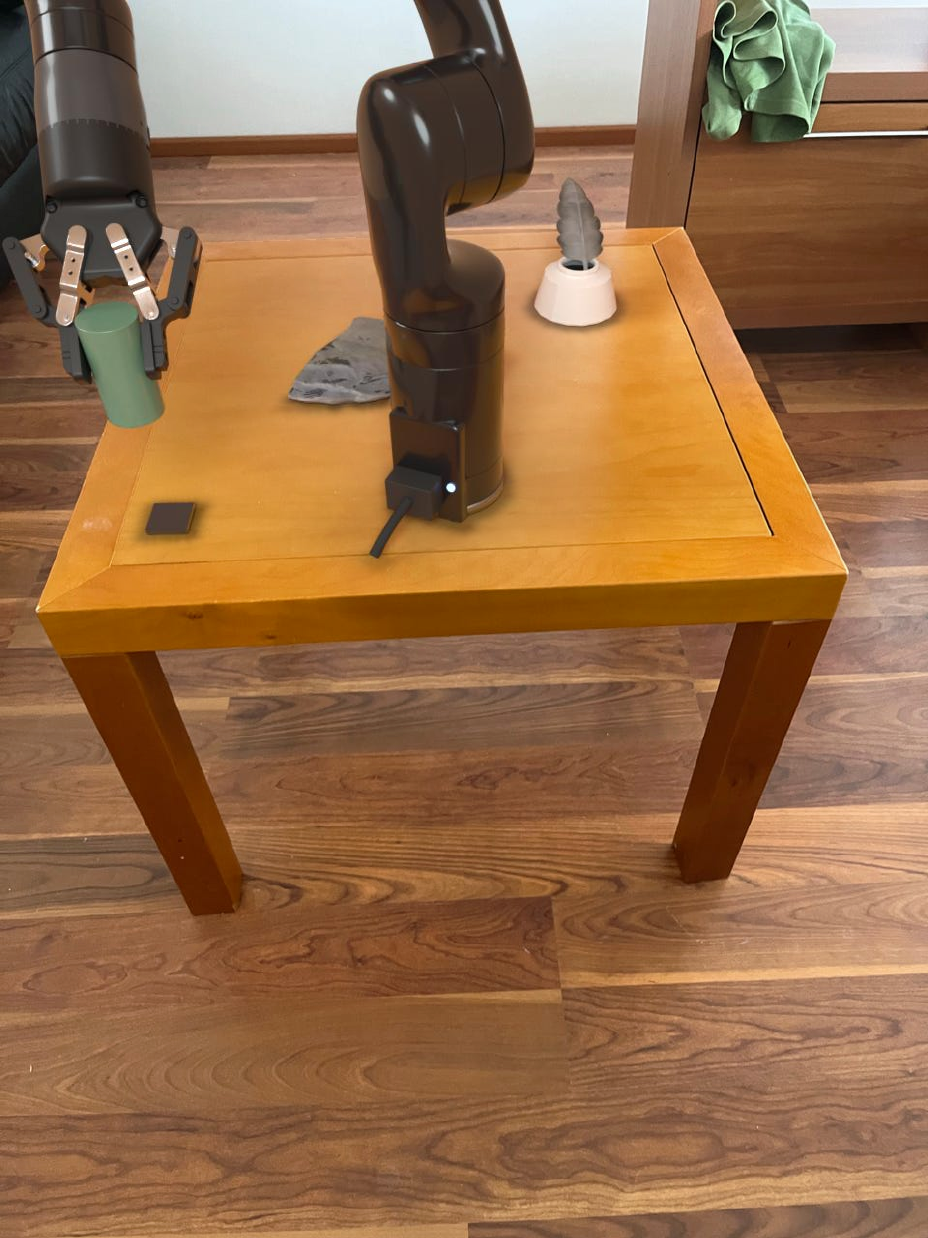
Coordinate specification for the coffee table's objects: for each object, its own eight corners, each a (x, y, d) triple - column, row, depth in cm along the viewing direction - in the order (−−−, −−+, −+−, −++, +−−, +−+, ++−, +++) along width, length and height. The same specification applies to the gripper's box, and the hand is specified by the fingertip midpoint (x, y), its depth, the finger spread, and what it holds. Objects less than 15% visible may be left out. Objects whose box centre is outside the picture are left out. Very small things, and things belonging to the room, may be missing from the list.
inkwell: (540, 329, 100) (544, 238, 93) (517, 254, 113) (520, 168, 106) (625, 324, 101) (635, 233, 94) (593, 249, 113) (600, 163, 106)
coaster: (188, 533, 78) (186, 528, 78) (146, 534, 78) (144, 529, 78) (195, 507, 81) (194, 501, 80) (155, 507, 81) (153, 502, 80)
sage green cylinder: (175, 414, 72) (148, 318, 66) (120, 435, 70) (87, 339, 64) (151, 389, 74) (123, 294, 68) (98, 408, 72) (64, 313, 66)
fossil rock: (499, 350, 98) (499, 329, 96) (462, 432, 88) (461, 411, 86) (341, 329, 101) (339, 309, 99) (288, 406, 91) (285, 385, 90)
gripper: (-33, 119, 63) (-5, 375, 63) (183, 108, 64) (208, 360, 64) (13, 169, 70) (37, 398, 71) (205, 159, 71) (227, 384, 72)
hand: (118, 378), depth 68 cm, fingers closed on sage green cylinder, 4 cm apart
